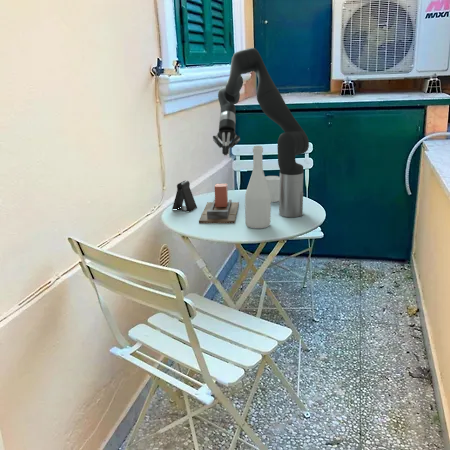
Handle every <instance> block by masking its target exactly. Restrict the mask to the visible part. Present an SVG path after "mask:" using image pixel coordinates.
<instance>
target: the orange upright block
mask: <svg viewBox="0 0 450 450" xmlns="http://www.w3.org/2000/svg"><path fill="white" fill-rule="evenodd" d="M228 188H229V187H228V183H215V185H214V200H215V207H227V205H228V202H229V196H228V195H229V193H228V192H229V190H228Z"/></svg>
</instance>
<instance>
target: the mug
mask: <svg viewBox="0 0 450 450" xmlns="http://www.w3.org/2000/svg"><path fill="white" fill-rule="evenodd" d="M265 178H266V182H267V185H268V188H269V191H270V194H271V203H278V202H279V192H280V176H278V175H267V176H265Z"/></svg>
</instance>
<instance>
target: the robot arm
mask: <svg viewBox="0 0 450 450" xmlns="http://www.w3.org/2000/svg"><path fill="white" fill-rule="evenodd" d="M230 62H231V63H230V71H229V77H228V79H227V81H226V84H225V86H224V87H221V88H220V89H218V92H217V99H218V102H219V106H220V113H219V114H220V115H219V119H218V120H219V122H218V123H219V124H218V131H217V134H216V135H213V136H212V140H213V142H214V143H215V144H216V145H217V146H218V148H219V149H220V148H222V151H221V152H222V155H223V156H228V155H229V154H230V153H229V152H230V148H234V147H235V146H236V145H237V144H238V143H239V142H240V141H241V137H240V135H237V133H236V123H237V122H236V105H237V104H238V103H239V102H240V98H241V97H240V95H241V94H240V91H241V89H242V88H243V85H244V79H243V75H245V74H249V73H252V72H254V73H255V75H256V76H257V81H258V83H257V87H256V100H257V103H258V104H259V106H260V109H261V110H262V112H263V113H264V115H265V116H267V117H268V118H269V119H270V120H271V121H273V122H274V123H275V124H276V125H278V126H279V127H280V128H281V130H282V131H284V132H282V133H281V134H279V137H278V139H277V164H278V168H279V177H280V192H279V201H278V202H279V203H278V205H279V206H278V210H279V211H278V215H280V216H281V217H285V218H297V217H303V210H304V207H303V206H304V165H302V164H301V163H298V162H297V161H296V156H298V155H303V154H305V153H307V151H308V150H309V148H310V142H309V141H310V140H309V138H308V135H307V134H306V132H305V130H304V129H303V128H302V126H301V125H300V123H299V122H298V121H297V120H296V118H295V117H294V115H293V113H292V112H291V110H290V108H289V107H288V105H287V104H286V102H285V100H284V98H283V96H282V94H281V93H280V90H279V89H278V88H277V86H276V84H275V82H274V81H273V79H272V77H271V75H270V74H269V72H268V69H267V67H266V65H265V63H264V61H263V58H262V56H261V54H260V53H259V51H258V49H257V48H255V47H249V48H245V49H241V50H239V51H236V52H234V53H233V56H232V57H231V61H230Z"/></svg>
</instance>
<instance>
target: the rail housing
mask: <svg viewBox="0 0 450 450" xmlns="http://www.w3.org/2000/svg"><path fill="white" fill-rule="evenodd" d="M239 203H240V202H238V201H235V202H233V200H232V199H228V205H227V207H215V199H213V200H212V201H211V202H209V201H208V202H206V203H205V206H204V208H203V211H202V213H201V215H200V216H199V219H198V224H235V223H236V219H237V215H238V210H239V205H240V204H239Z"/></svg>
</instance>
